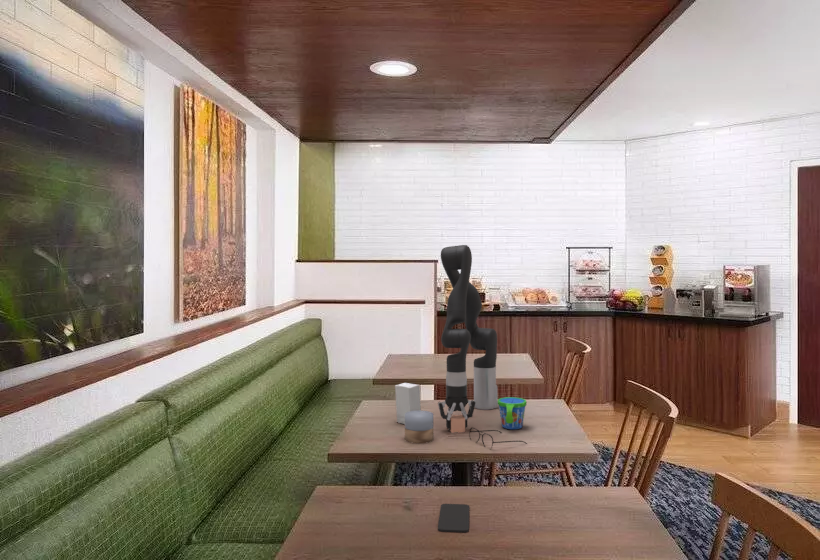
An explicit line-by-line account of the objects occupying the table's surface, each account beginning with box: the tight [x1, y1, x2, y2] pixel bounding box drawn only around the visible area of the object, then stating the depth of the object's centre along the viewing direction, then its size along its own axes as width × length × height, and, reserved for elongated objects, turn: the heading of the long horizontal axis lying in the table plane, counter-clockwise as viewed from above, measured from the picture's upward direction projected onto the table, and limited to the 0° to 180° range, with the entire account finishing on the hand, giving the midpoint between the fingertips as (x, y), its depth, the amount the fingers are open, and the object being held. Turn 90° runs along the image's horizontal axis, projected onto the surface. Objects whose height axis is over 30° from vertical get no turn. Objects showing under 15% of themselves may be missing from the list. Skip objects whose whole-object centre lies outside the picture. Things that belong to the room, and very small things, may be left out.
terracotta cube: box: [449, 414, 466, 434], centre depth 220 cm, size 5×5×5 cm
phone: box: [437, 503, 471, 534], centre depth 148 cm, size 7×1×15 cm
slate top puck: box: [404, 409, 434, 431], centre depth 211 cm, size 10×10×4 cm
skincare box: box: [394, 382, 422, 425], centre depth 231 cm, size 8×6×15 cm
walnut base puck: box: [404, 427, 434, 444], centre depth 211 cm, size 10×10×4 cm
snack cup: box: [498, 396, 527, 430], centre depth 223 cm, size 16×10×10 cm
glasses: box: [469, 427, 528, 449], centre depth 207 cm, size 14×15×5 cm
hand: (456, 429), depth 220 cm, fingers closed on terracotta cube, 5 cm apart
